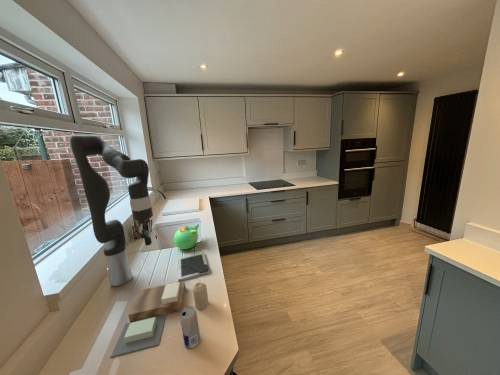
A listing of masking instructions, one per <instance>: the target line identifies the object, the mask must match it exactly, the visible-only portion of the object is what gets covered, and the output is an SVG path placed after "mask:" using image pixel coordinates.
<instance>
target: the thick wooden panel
mask: <svg viewBox="0 0 500 375" xmlns="http://www.w3.org/2000/svg"><path fill="white" fill-rule="evenodd" d="M166 285H167V284H164V285H159V286H153V287H149V288H145V289H140V290H138V292H137V294H136V297H135V298H134V301H133V303H132V305H131V308H130V310H129V311H128V314H127V316H128V320H129V323H130V322H134V321H138V320H142V319H147V318H151V317H155V316H160V315H164V314H166V316H167V315H171V314H176V313H181V311H182V310H183V309H184V304H185V303H184V301H185V295H186V290H187V288H186V280H184V281H180V291H179V297H178V301H176V302H171V303H167V304H162V296H163V293H164V289H165V286H166Z"/></svg>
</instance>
